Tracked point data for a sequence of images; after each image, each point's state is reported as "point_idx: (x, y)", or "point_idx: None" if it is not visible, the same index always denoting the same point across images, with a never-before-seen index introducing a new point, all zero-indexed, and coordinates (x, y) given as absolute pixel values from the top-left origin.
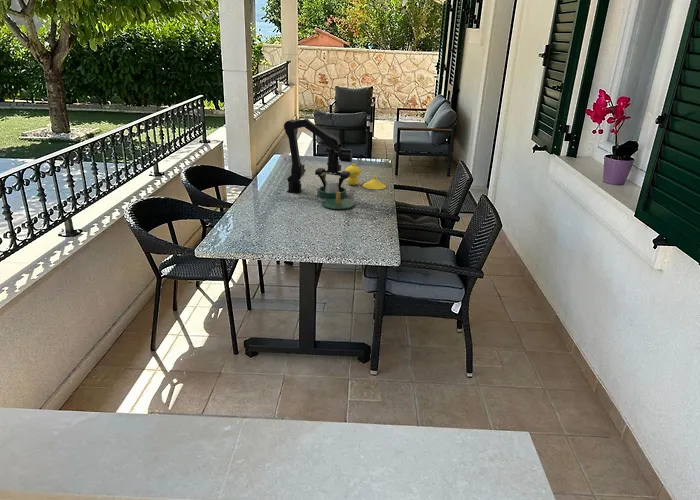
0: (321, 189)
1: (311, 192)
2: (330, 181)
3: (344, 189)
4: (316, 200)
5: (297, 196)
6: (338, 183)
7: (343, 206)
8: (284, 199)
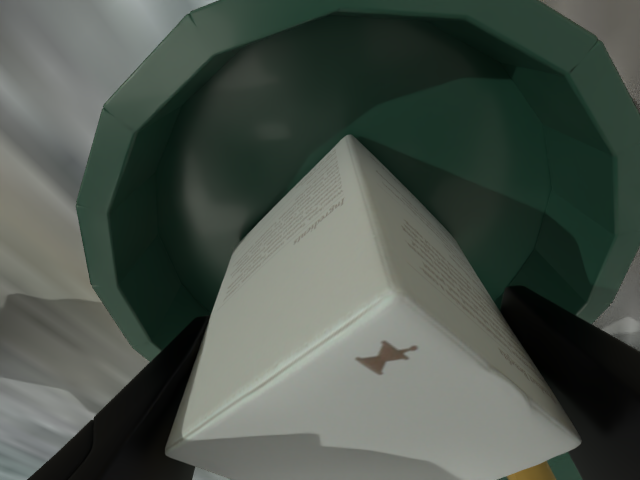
0: (137, 255)
1: (39, 256)
2: (319, 457)
3: (598, 143)
4: None
5: (79, 408)
6: (564, 442)
7: (574, 475)
8: None
